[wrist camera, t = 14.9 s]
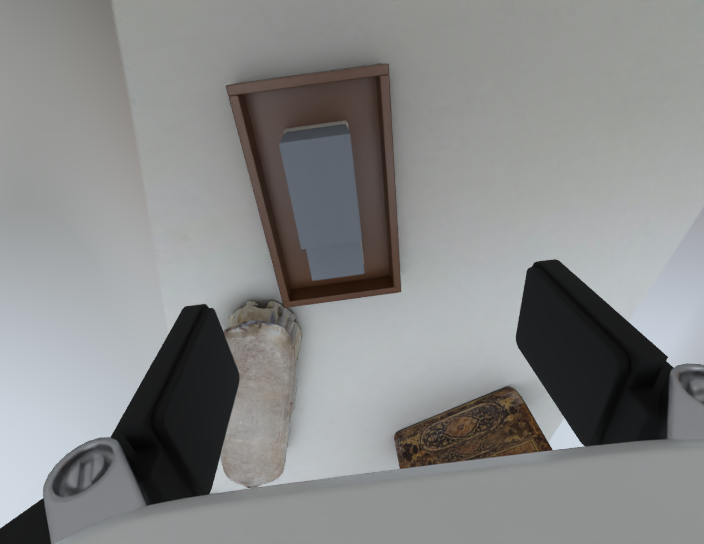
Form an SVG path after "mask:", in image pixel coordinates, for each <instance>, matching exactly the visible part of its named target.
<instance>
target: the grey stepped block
mask: <svg viewBox="0 0 704 544" xmlns="http://www.w3.org/2000/svg"><path fill="white" fill-rule="evenodd" d="M279 147H280V152H281V156H282V161H283V166H284V171H285V175H286V180H287V185H288V189H289V194H290V199H291V203H292V208H293V213H294V218H295V222H296V227H297V232H298V236H299V241H300V246H301V249H306V253H307V258H308V262H309V267H310V272H311V277H312V280H313V281H316V280H323V279H330V278H338V277H345V276H352V275H360V274H364V273H365V272H364V260H363V251H362V242H361V241H362V234H361V225H360V216H359V207H358V198H357V190H356V181H355V172H354V163H353V154H352V145H351V136H350V132H349V129H348V123H347V121H346V120H344V121H337V122H329V123H322V124H315V125H307V126H300V127H293V128H286V129H285V131H284V135H283V137H282V139H281V141H280V142H279Z"/></svg>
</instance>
